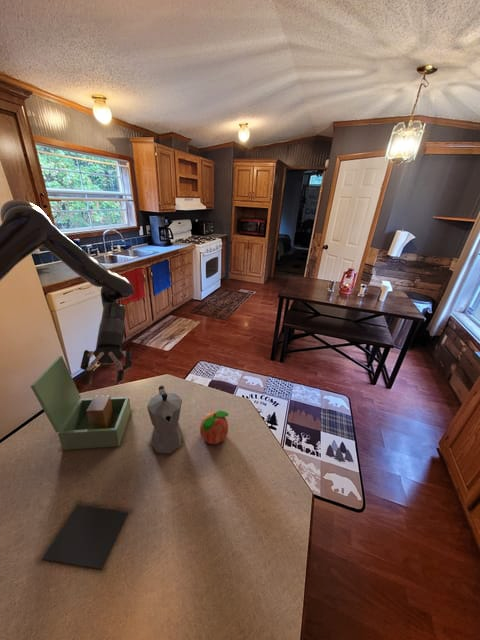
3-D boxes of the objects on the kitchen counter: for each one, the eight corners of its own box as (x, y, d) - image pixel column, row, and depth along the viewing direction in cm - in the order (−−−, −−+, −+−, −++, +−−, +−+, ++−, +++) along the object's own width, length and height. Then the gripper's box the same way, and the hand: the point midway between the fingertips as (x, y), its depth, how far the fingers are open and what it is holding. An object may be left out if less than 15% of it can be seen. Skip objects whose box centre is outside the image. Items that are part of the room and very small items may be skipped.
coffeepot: (187, 456, 72) (187, 406, 65) (153, 466, 68) (148, 415, 61) (177, 417, 85) (176, 373, 78) (147, 425, 81) (143, 378, 74)
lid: (61, 355, 74) (59, 356, 74) (33, 385, 61) (30, 386, 61) (81, 397, 80) (78, 397, 80) (59, 432, 68) (56, 432, 68)
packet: (114, 419, 81) (110, 395, 77) (107, 436, 75) (103, 410, 71) (99, 420, 80) (94, 395, 76) (91, 437, 74) (86, 410, 71)
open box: (131, 413, 85) (129, 396, 83) (119, 448, 73) (116, 430, 70) (83, 415, 83) (80, 398, 80) (63, 451, 70) (57, 433, 68)
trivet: (43, 561, 49) (41, 559, 49) (78, 506, 58) (77, 504, 58) (102, 572, 48) (101, 569, 48) (128, 514, 57) (128, 512, 57)
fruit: (193, 435, 79) (193, 410, 75) (218, 422, 84) (220, 398, 80) (208, 455, 73) (209, 429, 69) (234, 440, 78) (236, 415, 74)
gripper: (83, 330, 79) (73, 382, 73) (131, 330, 82) (125, 381, 76) (92, 337, 86) (84, 385, 80) (136, 337, 88) (131, 384, 83)
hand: (104, 383), depth 78 cm, fingers open, 8 cm apart
